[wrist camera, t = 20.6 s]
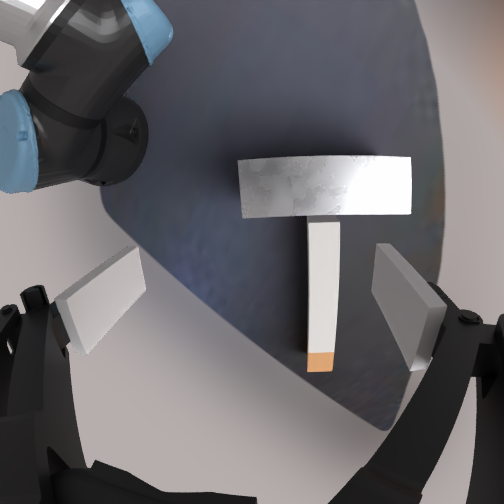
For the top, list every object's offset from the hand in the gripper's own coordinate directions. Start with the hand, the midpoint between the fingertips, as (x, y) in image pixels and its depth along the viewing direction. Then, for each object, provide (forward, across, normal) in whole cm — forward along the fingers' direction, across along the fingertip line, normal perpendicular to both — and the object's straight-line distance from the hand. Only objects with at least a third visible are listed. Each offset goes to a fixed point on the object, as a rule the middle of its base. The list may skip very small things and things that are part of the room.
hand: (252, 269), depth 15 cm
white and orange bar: (+26, +7, -15) cm, 31 cm away
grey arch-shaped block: (+26, +6, +2) cm, 27 cm away
